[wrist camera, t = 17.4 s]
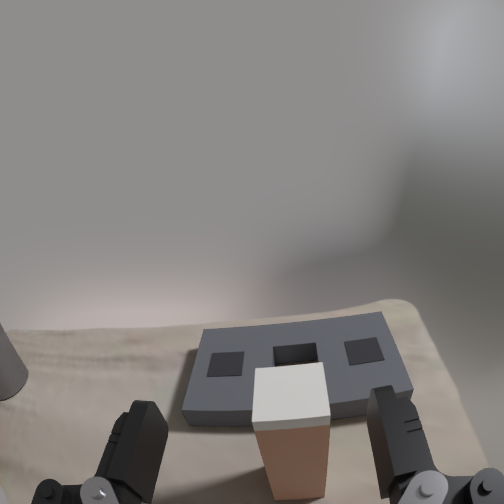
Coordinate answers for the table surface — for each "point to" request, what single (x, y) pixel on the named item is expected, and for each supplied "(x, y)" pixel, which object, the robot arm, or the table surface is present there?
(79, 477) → the table surface
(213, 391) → the grey flat rectangular block
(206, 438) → the table surface
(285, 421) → the plug
